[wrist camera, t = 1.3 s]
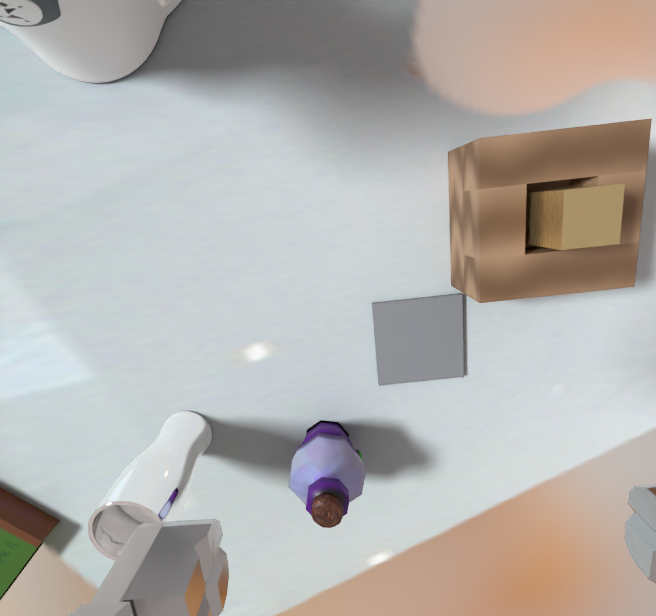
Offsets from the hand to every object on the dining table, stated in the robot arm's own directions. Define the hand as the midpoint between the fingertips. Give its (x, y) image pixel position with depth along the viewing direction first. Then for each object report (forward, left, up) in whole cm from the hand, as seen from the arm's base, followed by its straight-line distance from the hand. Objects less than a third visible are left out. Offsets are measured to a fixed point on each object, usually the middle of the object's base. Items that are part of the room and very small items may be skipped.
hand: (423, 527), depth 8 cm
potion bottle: (+22, -4, -35) cm, 42 cm away
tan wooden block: (-3, +19, -31) cm, 37 cm away
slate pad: (+10, +8, -35) cm, 37 cm away
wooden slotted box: (-3, +19, -35) cm, 40 cm away
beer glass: (+19, -21, -35) cm, 45 cm away
